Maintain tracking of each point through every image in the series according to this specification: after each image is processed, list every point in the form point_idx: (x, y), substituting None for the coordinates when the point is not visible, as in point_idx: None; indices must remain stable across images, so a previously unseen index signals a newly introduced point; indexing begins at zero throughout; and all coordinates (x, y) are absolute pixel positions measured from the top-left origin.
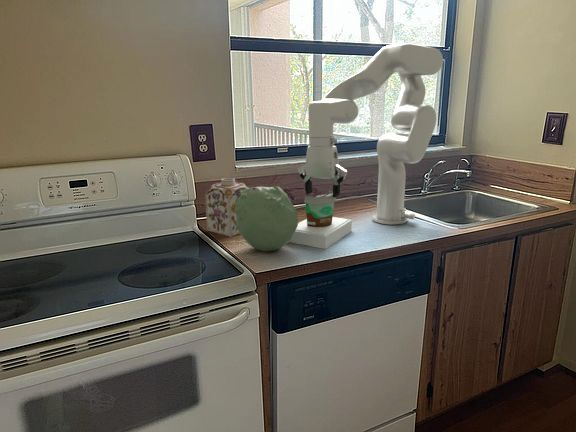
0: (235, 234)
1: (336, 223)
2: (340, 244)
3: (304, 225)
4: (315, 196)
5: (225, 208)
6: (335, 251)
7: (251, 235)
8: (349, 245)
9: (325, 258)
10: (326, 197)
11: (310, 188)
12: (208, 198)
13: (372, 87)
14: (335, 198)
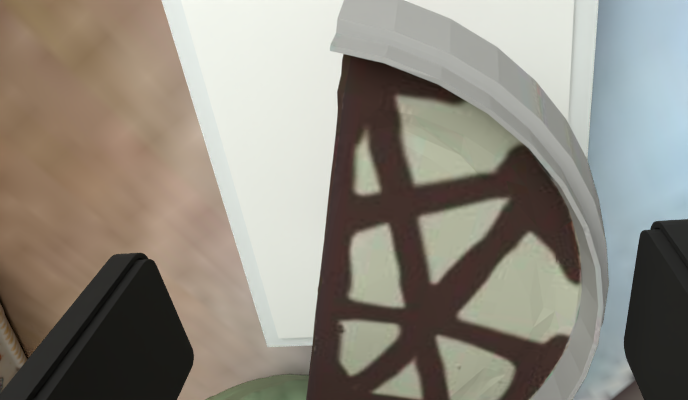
0: (20, 349)
1: (520, 47)
2: (611, 166)
3: (315, 244)
4: (332, 365)
5: None
6: (627, 280)
7: None
8: (682, 149)
9: (613, 375)
10: None
11: (134, 356)
12: None
13: None
14: (600, 210)
